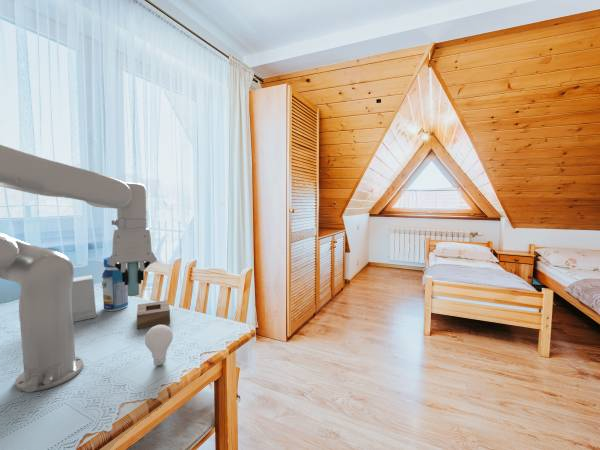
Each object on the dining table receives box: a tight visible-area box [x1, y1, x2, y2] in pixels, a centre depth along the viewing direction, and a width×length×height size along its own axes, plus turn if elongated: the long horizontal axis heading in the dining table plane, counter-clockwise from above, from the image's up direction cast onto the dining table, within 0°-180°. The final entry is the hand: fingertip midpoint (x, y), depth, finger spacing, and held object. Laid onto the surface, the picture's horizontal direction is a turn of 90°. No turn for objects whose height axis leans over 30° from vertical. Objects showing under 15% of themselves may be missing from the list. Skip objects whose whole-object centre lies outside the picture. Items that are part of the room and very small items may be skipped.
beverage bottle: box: [101, 256, 129, 312], centre depth 111 cm, size 8×8×20 cm
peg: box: [126, 262, 140, 297], centre depth 87 cm, size 3×3×12 cm
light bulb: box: [144, 324, 174, 367], centre depth 75 cm, size 7×7×11 cm
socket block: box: [136, 300, 171, 330], centre depth 101 cm, size 10×10×5 cm
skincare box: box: [72, 274, 97, 323], centre depth 101 cm, size 8×6×15 cm
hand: (133, 282), depth 87 cm, fingers closed on peg, 3 cm apart
